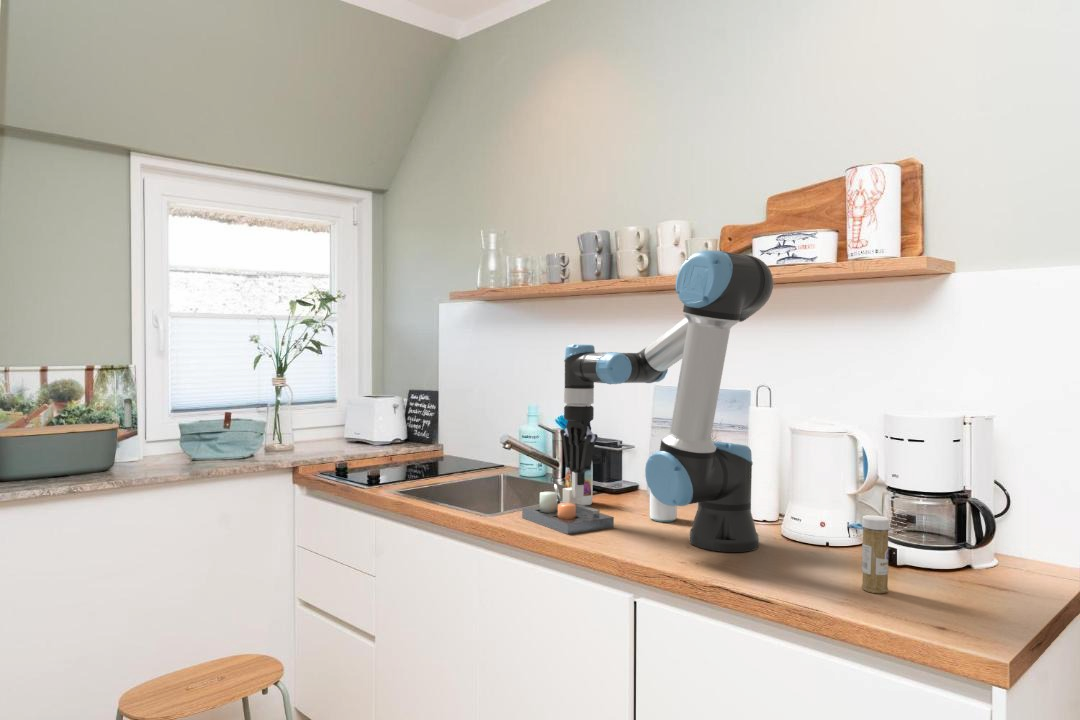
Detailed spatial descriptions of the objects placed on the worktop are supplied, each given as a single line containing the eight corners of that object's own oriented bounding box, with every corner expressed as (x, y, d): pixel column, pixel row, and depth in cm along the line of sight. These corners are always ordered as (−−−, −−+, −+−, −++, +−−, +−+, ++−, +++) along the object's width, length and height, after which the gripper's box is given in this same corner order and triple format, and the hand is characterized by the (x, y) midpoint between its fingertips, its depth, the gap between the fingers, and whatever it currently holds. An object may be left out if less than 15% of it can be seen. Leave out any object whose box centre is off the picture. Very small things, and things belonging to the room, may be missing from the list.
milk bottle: (567, 500, 211) (568, 431, 211) (594, 501, 209) (595, 432, 209) (563, 505, 203) (564, 434, 203) (590, 507, 202) (591, 435, 202)
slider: (581, 502, 187) (582, 488, 187) (569, 504, 185) (569, 490, 185) (575, 500, 189) (575, 487, 189) (562, 502, 187) (562, 488, 187)
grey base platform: (613, 527, 179) (614, 495, 179) (567, 534, 171) (568, 501, 171) (564, 511, 196) (565, 482, 196) (520, 517, 188) (521, 487, 188)
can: (675, 517, 191) (676, 471, 191) (678, 523, 184) (678, 476, 184) (648, 516, 192) (649, 470, 192) (650, 522, 185) (650, 475, 185)
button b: (560, 511, 184) (560, 493, 184) (545, 513, 182) (546, 495, 182) (550, 508, 188) (550, 491, 188) (536, 510, 185) (536, 492, 185)
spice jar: (889, 595, 130) (890, 520, 130) (861, 592, 132) (862, 518, 131) (887, 588, 134) (888, 515, 134) (860, 585, 136) (861, 513, 136)
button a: (579, 523, 177) (579, 505, 177) (564, 525, 175) (564, 507, 175) (568, 520, 181) (568, 502, 181) (554, 522, 179) (554, 504, 179)
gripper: (606, 406, 182) (605, 500, 182) (575, 402, 192) (574, 491, 193) (582, 407, 177) (581, 503, 178) (552, 403, 188) (550, 494, 188)
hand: (577, 497), depth 185 cm, fingers closed
